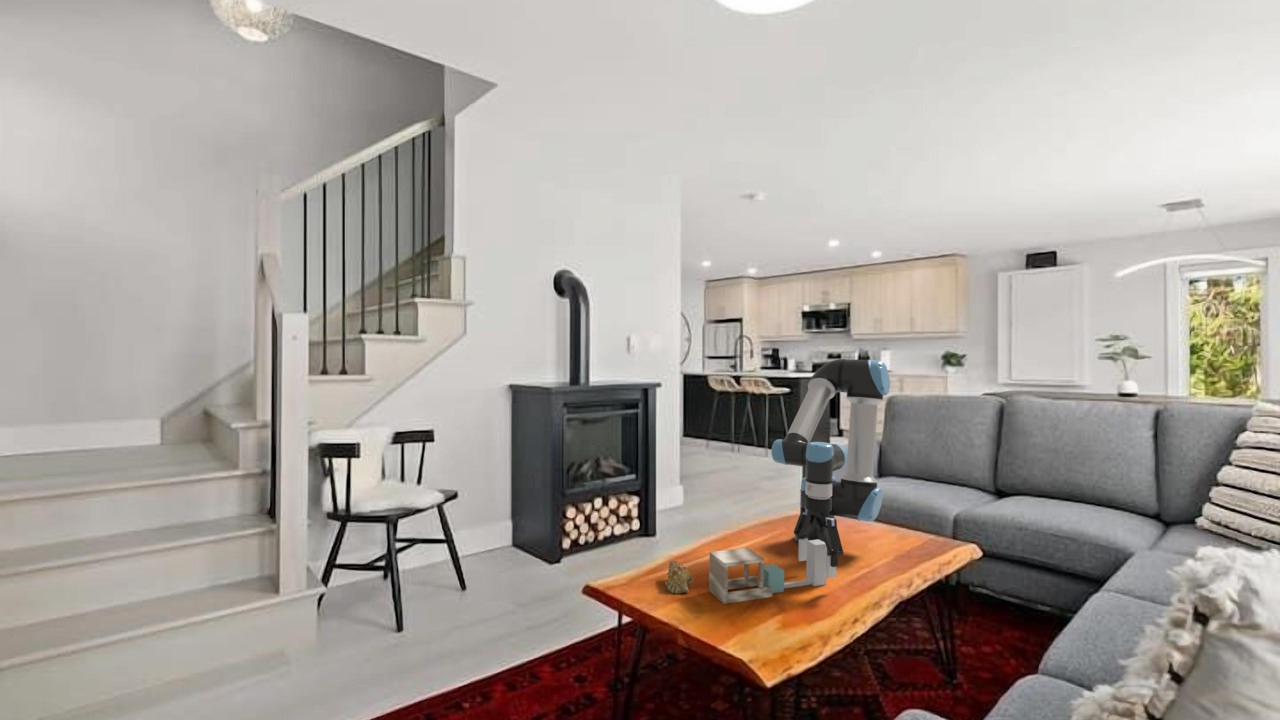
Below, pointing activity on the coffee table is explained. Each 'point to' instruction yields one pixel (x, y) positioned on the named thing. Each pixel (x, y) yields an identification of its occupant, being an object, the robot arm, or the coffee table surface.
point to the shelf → (722, 583)
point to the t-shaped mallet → (813, 570)
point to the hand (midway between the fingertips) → (816, 568)
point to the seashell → (678, 578)
